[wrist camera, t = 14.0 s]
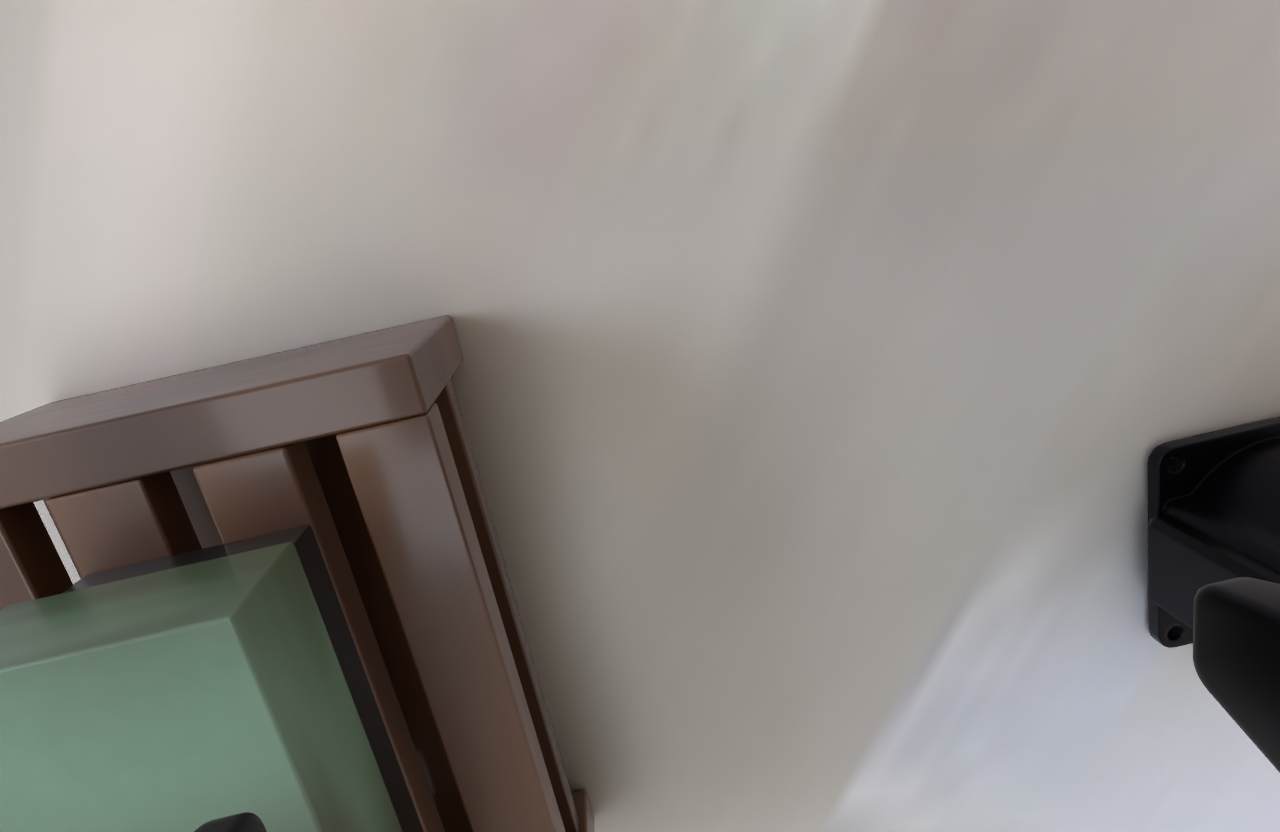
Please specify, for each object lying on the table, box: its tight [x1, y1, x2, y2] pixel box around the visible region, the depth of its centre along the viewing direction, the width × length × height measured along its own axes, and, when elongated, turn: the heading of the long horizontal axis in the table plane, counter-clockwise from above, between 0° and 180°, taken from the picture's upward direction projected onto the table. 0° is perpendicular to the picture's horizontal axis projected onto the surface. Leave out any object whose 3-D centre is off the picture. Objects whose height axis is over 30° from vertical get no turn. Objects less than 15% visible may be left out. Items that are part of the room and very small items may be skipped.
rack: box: [0, 315, 594, 832], centre depth 18 cm, size 10×16×5 cm, turn 12°
